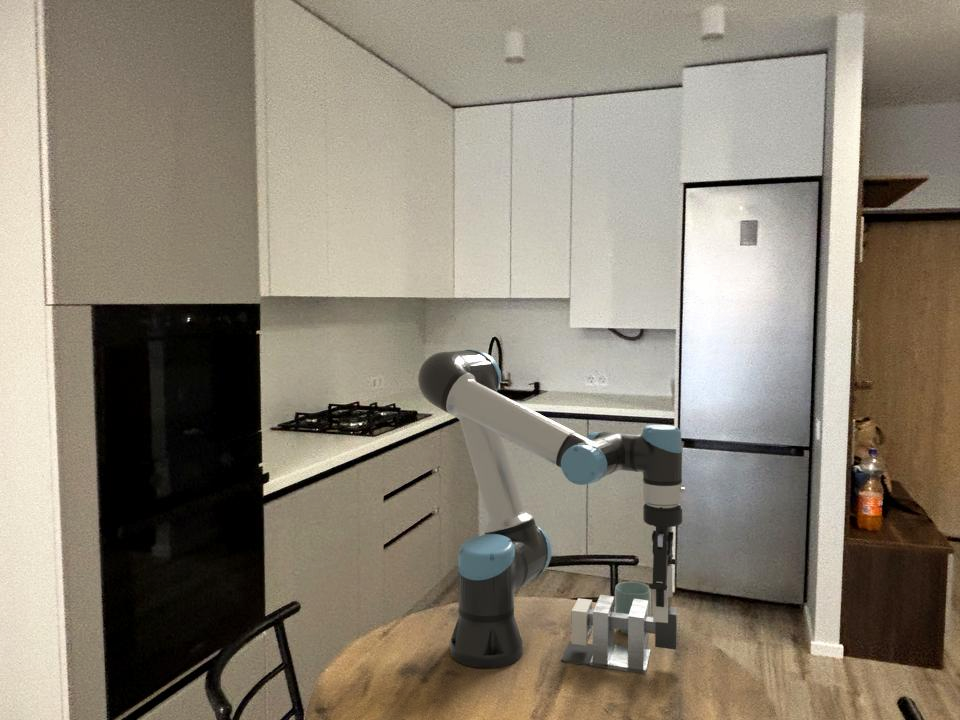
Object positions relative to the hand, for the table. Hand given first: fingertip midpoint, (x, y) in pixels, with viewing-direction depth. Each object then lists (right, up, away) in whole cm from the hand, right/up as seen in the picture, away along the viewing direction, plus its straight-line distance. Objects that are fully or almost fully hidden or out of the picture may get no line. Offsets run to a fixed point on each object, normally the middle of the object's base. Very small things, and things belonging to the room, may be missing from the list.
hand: (663, 608), depth 146 cm
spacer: (-15, -5, +5) cm, 17 cm away
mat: (-16, -11, +6) cm, 21 cm away
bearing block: (-8, -12, +3) cm, 14 cm away
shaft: (-7, -7, +3) cm, 11 cm away
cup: (-3, -11, +17) cm, 20 cm away
